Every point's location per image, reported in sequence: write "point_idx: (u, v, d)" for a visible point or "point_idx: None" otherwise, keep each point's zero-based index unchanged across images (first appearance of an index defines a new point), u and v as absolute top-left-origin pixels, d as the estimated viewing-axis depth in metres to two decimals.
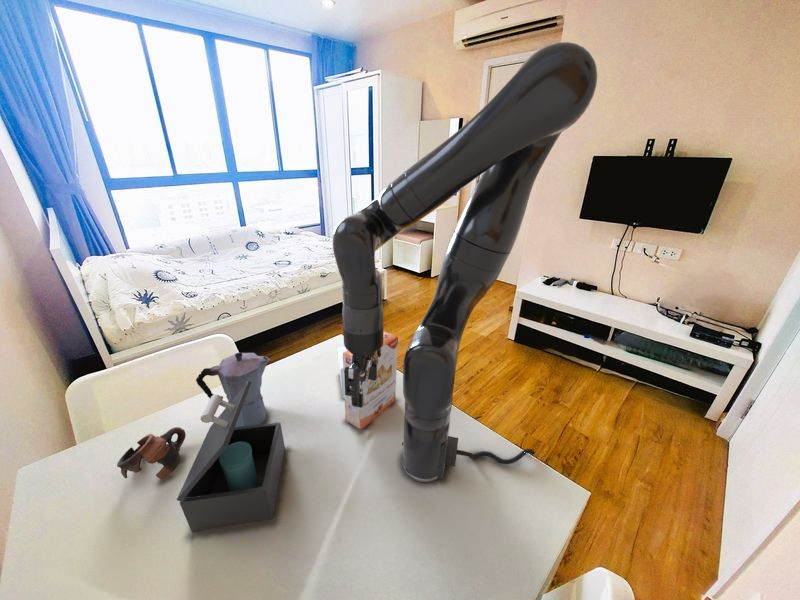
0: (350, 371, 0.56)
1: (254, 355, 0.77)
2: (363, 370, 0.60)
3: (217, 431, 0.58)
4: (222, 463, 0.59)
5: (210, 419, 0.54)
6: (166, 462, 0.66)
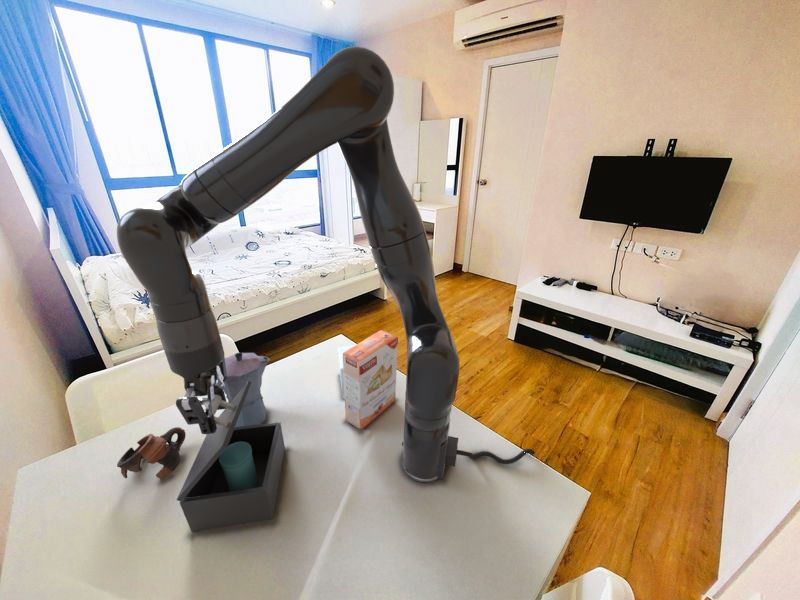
0: (184, 403, 0.47)
1: (254, 355, 0.77)
2: (203, 392, 0.51)
3: (217, 431, 0.58)
4: (222, 463, 0.59)
5: None
6: (166, 462, 0.66)
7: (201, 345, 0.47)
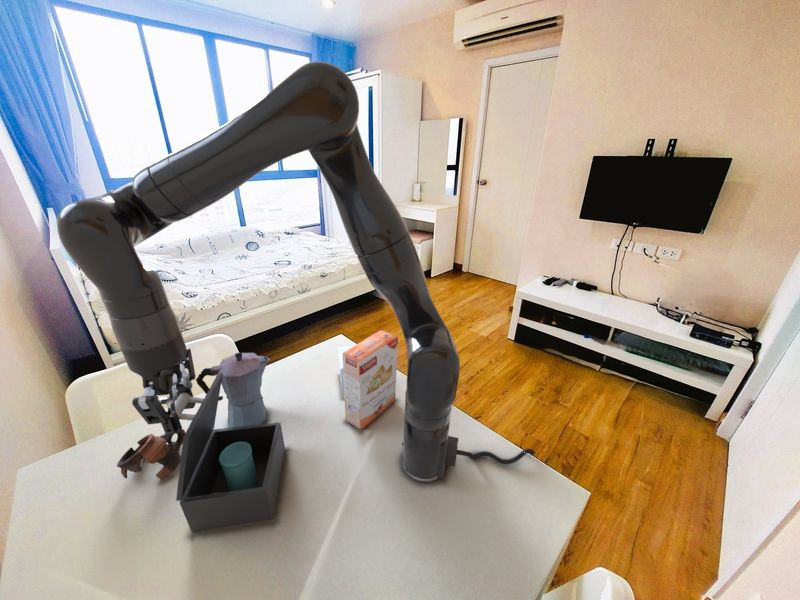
0: (141, 402, 0.45)
1: (254, 355, 0.77)
2: (164, 391, 0.49)
3: None
4: (222, 463, 0.59)
5: None
6: (166, 462, 0.66)
7: (158, 342, 0.46)
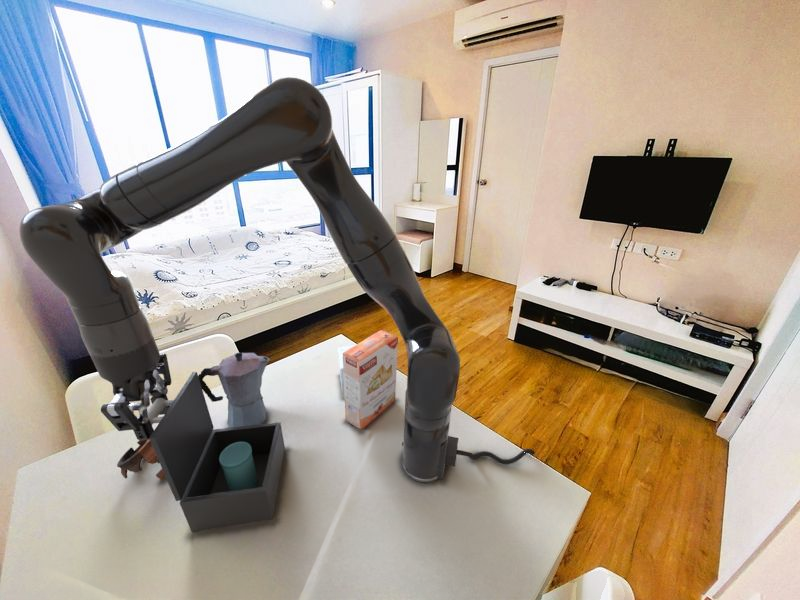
0: (110, 410, 0.45)
1: (254, 355, 0.77)
2: (136, 397, 0.49)
3: None
4: (222, 463, 0.59)
5: (150, 421, 0.52)
6: None
7: (128, 349, 0.46)
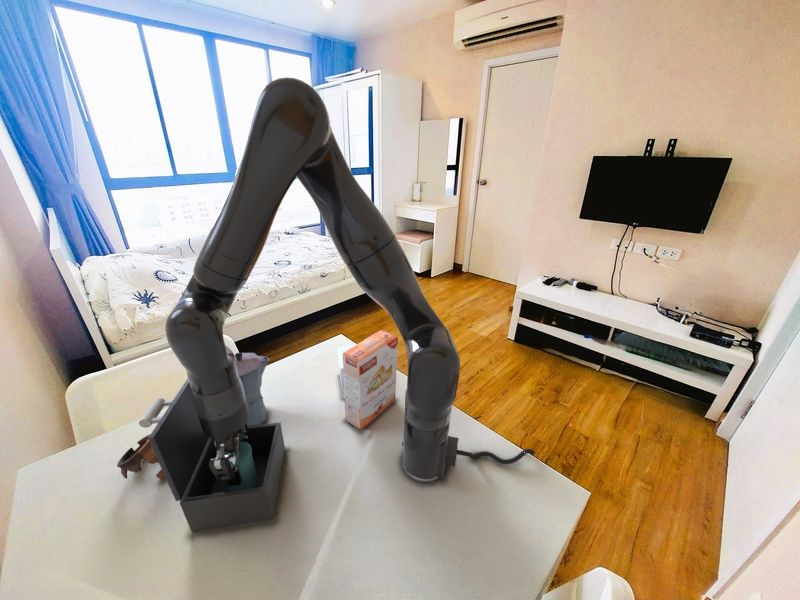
0: (216, 464, 0.52)
1: (254, 355, 0.77)
2: (231, 450, 0.56)
3: None
4: None
5: (149, 421, 0.52)
6: None
7: (231, 412, 0.53)
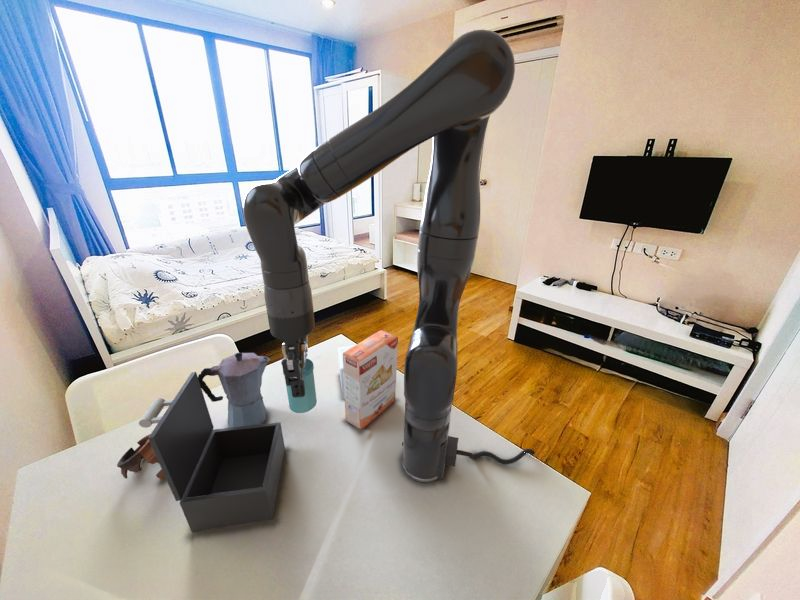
0: (289, 363, 0.51)
1: (254, 355, 0.77)
2: (299, 357, 0.56)
3: None
4: None
5: (149, 421, 0.52)
6: None
7: (303, 312, 0.52)
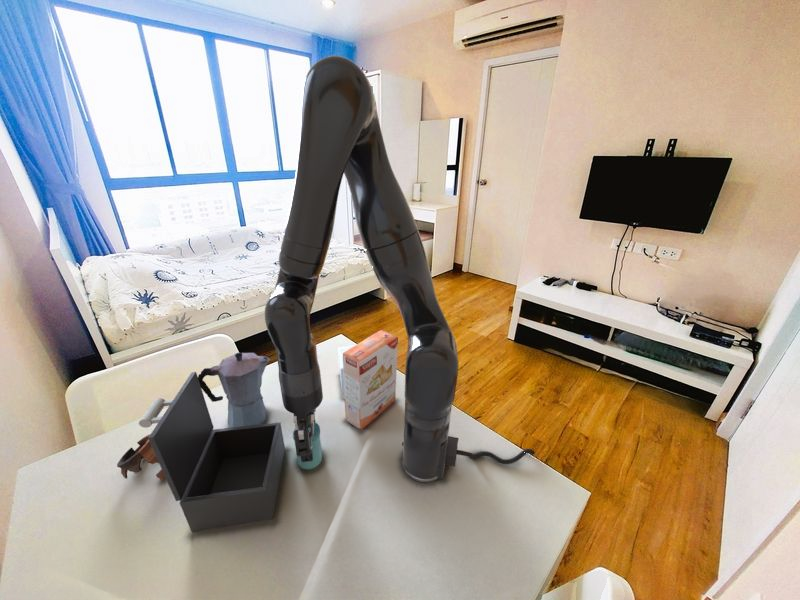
0: (300, 433, 0.58)
1: (254, 355, 0.77)
2: (308, 426, 0.62)
3: None
4: None
5: (149, 421, 0.52)
6: None
7: (312, 390, 0.59)
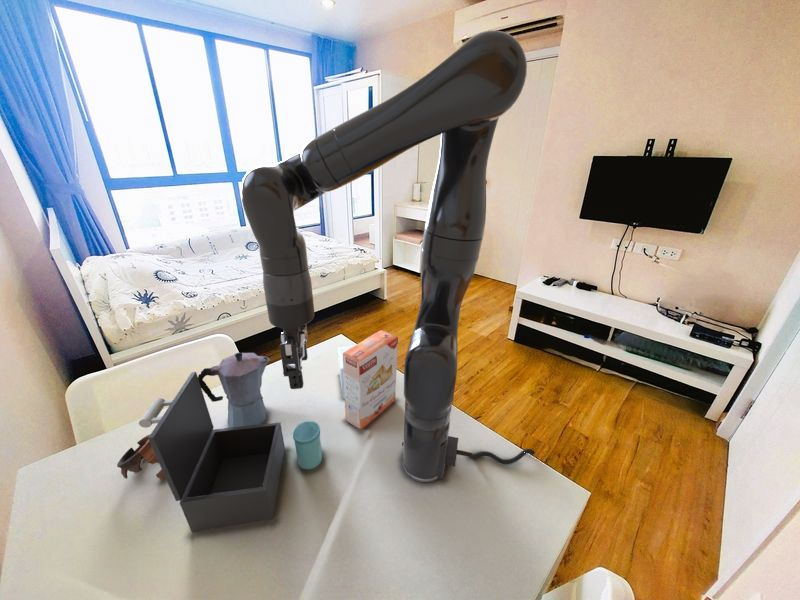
0: (287, 347, 0.50)
1: (254, 355, 0.77)
2: (298, 346, 0.55)
3: None
4: (296, 439, 0.65)
5: (149, 421, 0.52)
6: None
7: (302, 299, 0.51)
